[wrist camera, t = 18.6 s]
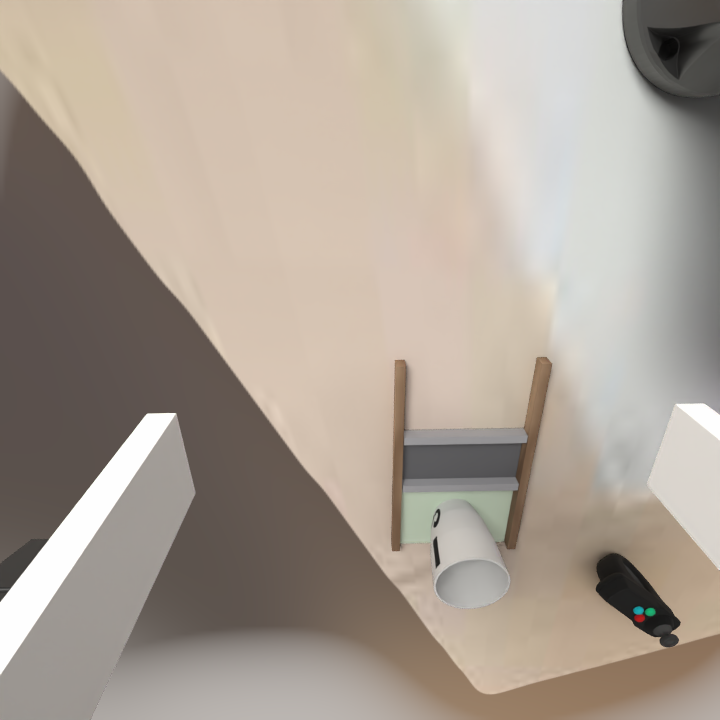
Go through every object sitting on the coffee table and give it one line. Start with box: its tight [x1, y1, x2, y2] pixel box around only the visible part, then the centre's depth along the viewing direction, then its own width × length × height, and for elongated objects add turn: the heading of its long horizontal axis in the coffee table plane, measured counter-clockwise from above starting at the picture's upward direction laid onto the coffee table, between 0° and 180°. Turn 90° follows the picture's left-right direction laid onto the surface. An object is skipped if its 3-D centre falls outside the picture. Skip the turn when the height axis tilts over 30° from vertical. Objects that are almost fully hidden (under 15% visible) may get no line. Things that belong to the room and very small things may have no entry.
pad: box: [400, 491, 513, 544], centre depth 56 cm, size 14×10×1 cm
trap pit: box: [402, 428, 528, 493], centre depth 51 cm, size 14×8×2 cm, turn 91°
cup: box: [431, 499, 510, 609], centre depth 51 cm, size 8×8×10 cm
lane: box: [391, 357, 552, 551], centre depth 51 cm, size 16×27×2 cm, turn 1°
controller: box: [596, 554, 681, 647], centre depth 55 cm, size 4×12×10 cm, turn 50°
